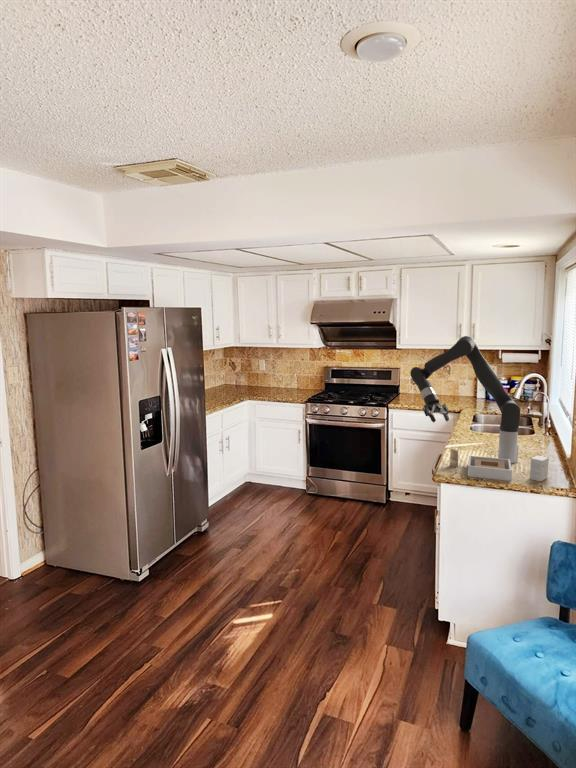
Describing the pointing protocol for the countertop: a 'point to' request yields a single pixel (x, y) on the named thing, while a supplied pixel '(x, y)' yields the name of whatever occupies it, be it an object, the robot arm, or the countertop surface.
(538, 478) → the small box
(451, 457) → the peg
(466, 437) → the countertop surface
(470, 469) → the bin
